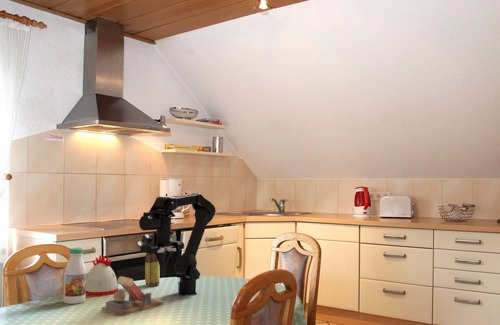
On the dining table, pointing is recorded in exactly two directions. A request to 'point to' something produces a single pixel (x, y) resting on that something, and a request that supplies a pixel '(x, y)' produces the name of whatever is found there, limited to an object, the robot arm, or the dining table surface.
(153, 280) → the sauce bottle
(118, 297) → the walnut
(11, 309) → the dining table surface
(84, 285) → the milk bottle
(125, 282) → the lever
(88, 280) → the white and red dome
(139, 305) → the base
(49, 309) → the dining table surface
